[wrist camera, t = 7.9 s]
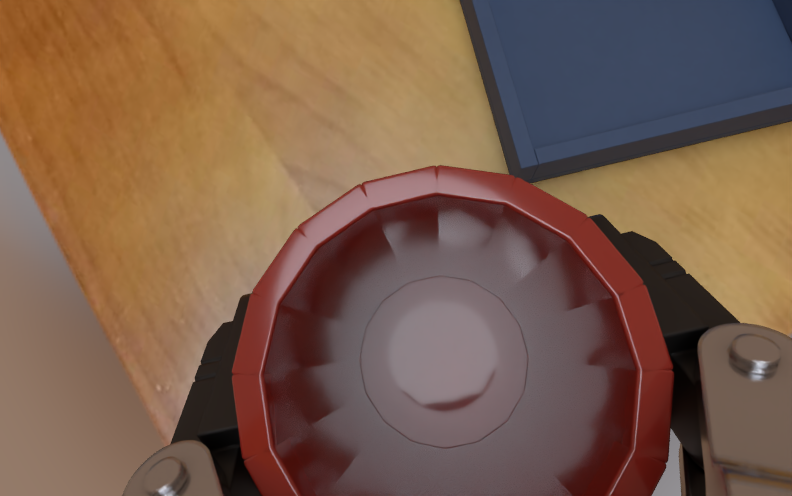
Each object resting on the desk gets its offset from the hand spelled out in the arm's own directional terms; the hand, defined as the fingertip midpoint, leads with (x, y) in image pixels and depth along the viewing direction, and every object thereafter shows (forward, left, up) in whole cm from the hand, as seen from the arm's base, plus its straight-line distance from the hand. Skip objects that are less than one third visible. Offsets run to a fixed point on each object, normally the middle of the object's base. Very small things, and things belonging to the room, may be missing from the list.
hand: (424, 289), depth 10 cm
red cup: (0, -2, -6) cm, 6 cm away
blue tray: (+13, +12, -13) cm, 22 cm away
